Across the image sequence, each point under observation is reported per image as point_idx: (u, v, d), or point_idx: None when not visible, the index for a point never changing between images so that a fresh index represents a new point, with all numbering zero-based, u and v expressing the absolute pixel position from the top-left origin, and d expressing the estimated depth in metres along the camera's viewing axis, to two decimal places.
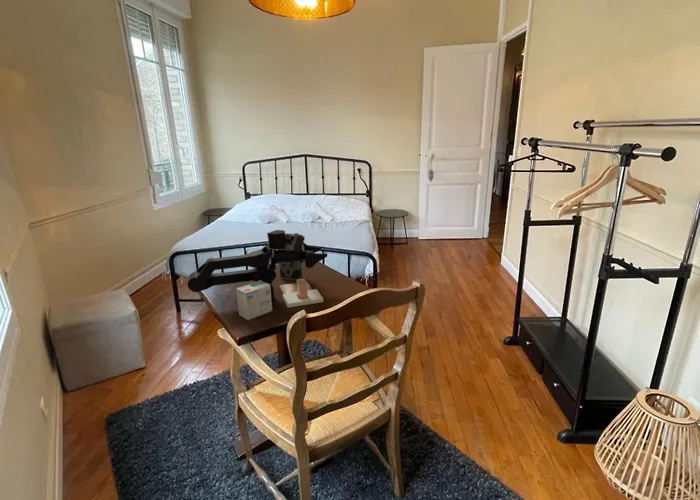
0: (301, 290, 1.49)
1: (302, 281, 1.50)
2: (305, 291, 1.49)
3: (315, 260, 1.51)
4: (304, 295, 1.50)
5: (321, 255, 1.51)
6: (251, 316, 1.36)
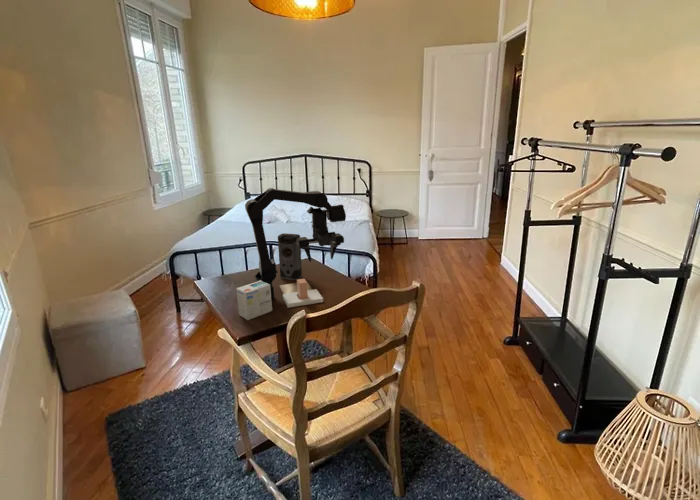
0: (301, 290, 1.49)
1: (302, 281, 1.50)
2: (305, 291, 1.49)
3: (305, 248, 1.56)
4: (304, 295, 1.50)
5: (307, 256, 1.55)
6: (251, 316, 1.36)
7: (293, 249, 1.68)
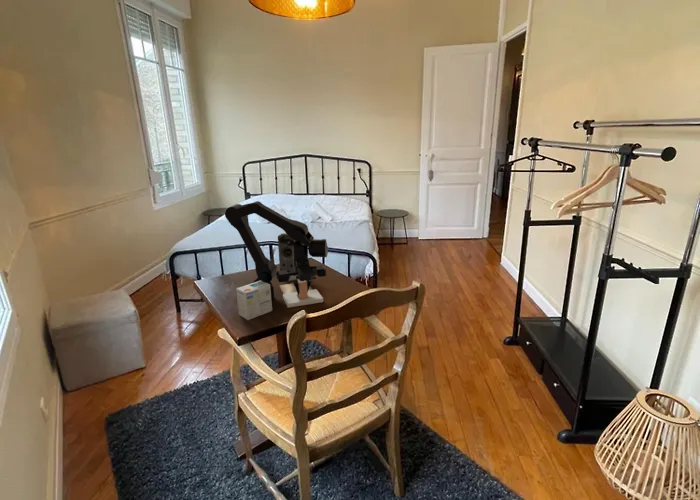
0: (301, 290, 1.49)
1: (302, 281, 1.50)
2: (305, 291, 1.49)
3: None
4: (304, 295, 1.50)
5: (295, 288, 1.50)
6: (251, 316, 1.36)
7: None
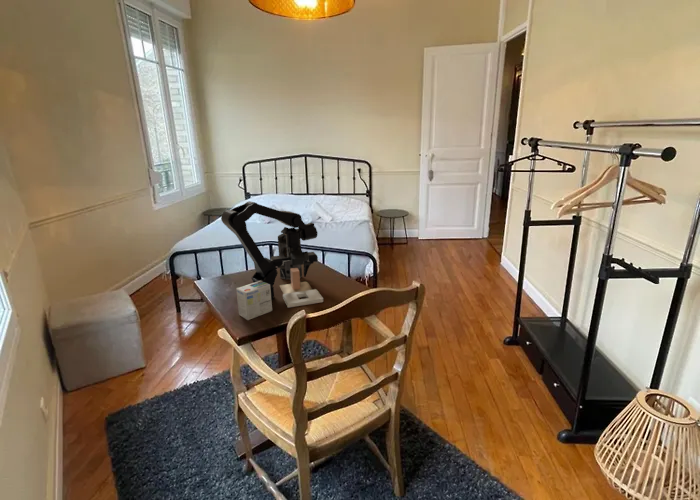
0: (294, 278, 1.59)
1: (295, 269, 1.60)
2: (298, 279, 1.60)
3: None
4: (297, 283, 1.60)
5: (283, 274, 1.59)
6: (251, 316, 1.36)
7: None
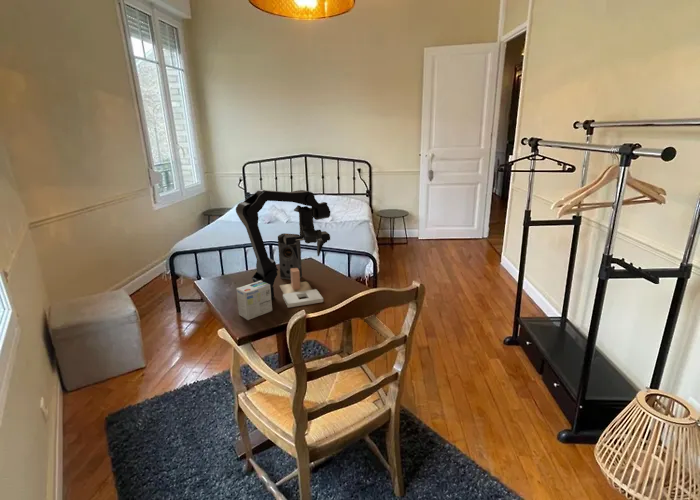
0: (294, 278, 1.59)
1: (295, 269, 1.60)
2: (298, 279, 1.60)
3: (292, 246, 1.60)
4: (297, 283, 1.60)
5: (294, 253, 1.59)
6: (251, 316, 1.36)
7: None
